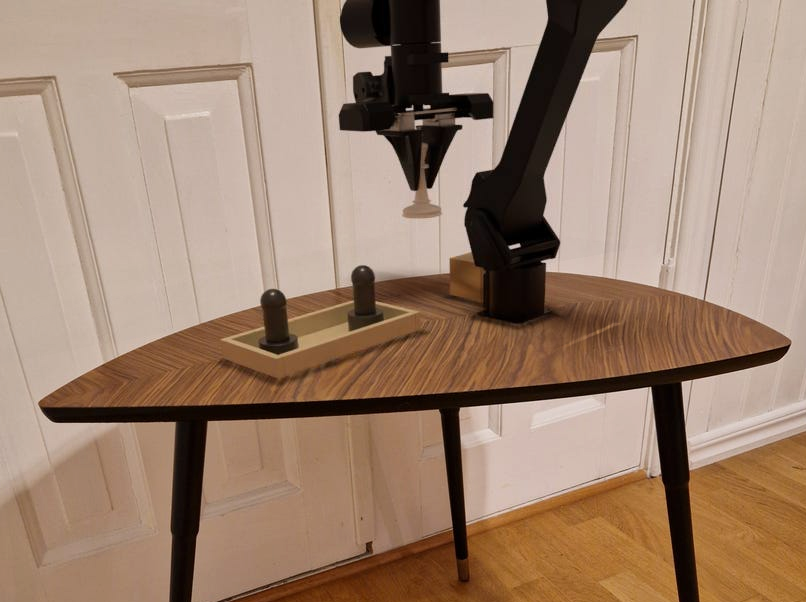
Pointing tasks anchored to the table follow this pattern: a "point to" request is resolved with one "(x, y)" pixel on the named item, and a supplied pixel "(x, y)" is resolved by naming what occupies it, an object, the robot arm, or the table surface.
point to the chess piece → (422, 195)
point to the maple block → (466, 277)
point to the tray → (319, 339)
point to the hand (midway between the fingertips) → (421, 189)
